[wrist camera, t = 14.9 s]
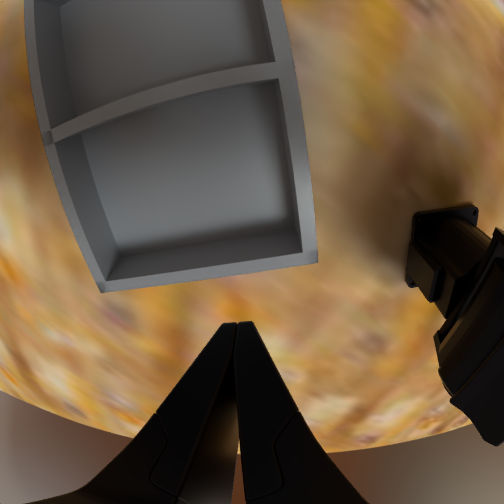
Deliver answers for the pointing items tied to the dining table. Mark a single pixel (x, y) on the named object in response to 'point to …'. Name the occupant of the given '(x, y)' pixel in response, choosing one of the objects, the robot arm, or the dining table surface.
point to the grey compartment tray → (173, 136)
